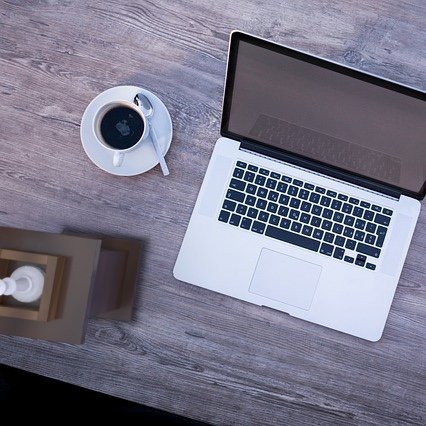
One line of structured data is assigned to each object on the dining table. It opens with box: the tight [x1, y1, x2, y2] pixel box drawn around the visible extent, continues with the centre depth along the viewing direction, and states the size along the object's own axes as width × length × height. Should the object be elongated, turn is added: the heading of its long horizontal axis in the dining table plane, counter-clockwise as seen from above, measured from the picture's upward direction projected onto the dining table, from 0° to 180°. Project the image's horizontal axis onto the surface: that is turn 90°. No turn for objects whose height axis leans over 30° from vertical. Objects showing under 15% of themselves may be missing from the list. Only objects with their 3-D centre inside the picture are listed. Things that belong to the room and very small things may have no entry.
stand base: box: [61, 230, 145, 323], centre depth 90 cm, size 14×14×24 cm
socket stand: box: [0, 225, 102, 346], centre depth 76 cm, size 16×14×4 cm
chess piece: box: [0, 265, 45, 303], centre depth 71 cm, size 5×5×10 cm
